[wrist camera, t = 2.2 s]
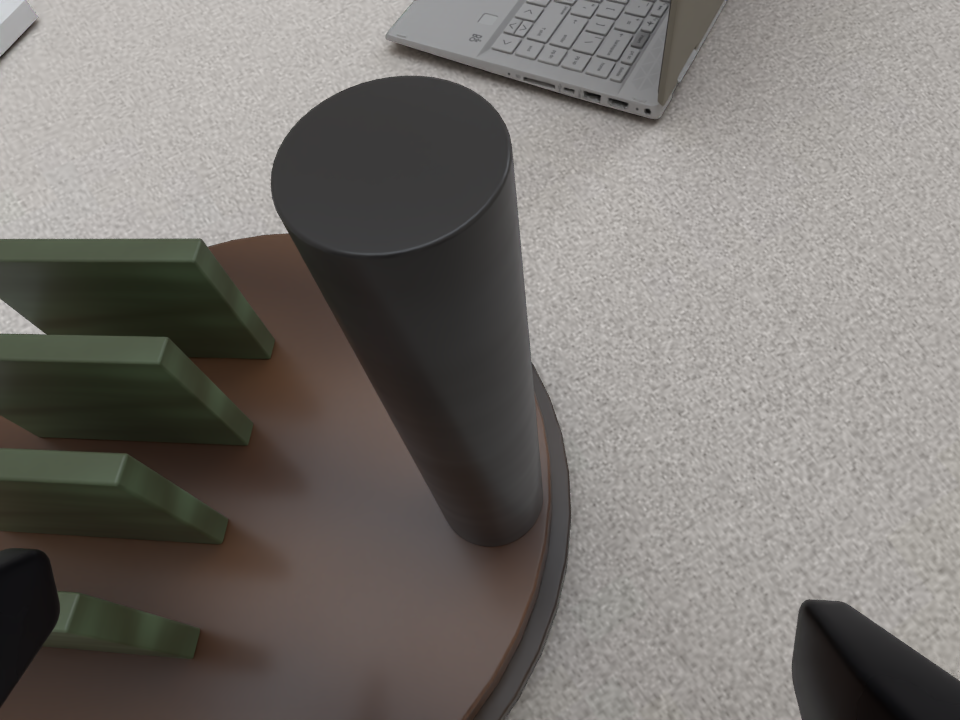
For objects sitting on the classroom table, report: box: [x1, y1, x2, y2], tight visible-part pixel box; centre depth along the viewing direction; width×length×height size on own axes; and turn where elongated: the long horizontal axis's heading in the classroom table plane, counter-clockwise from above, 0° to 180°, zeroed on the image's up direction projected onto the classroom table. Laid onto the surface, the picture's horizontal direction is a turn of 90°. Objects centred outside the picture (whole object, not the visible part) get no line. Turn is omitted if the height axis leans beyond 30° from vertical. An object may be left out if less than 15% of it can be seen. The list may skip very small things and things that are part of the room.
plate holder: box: [0, 76, 552, 720], centre depth 14 cm, size 17×17×13 cm
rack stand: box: [473, 362, 571, 720], centre depth 20 cm, size 18×18×1 cm
